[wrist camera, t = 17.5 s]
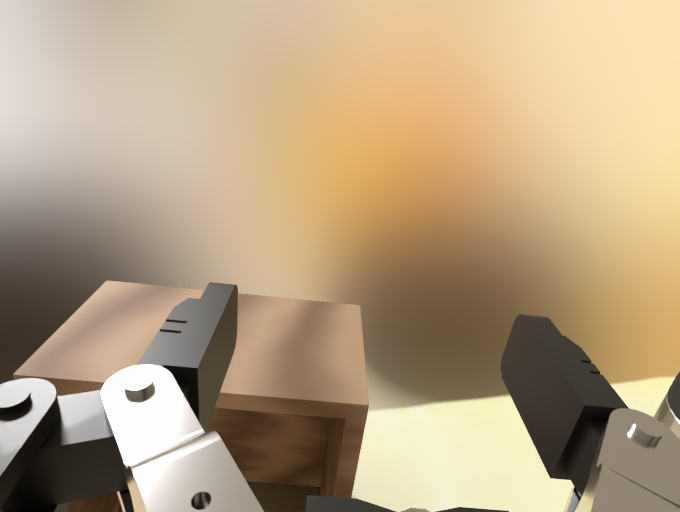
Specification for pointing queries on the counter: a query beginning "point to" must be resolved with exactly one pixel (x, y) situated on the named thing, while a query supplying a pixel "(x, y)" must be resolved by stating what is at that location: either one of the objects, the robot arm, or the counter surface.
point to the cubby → (236, 379)
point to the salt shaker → (416, 510)
